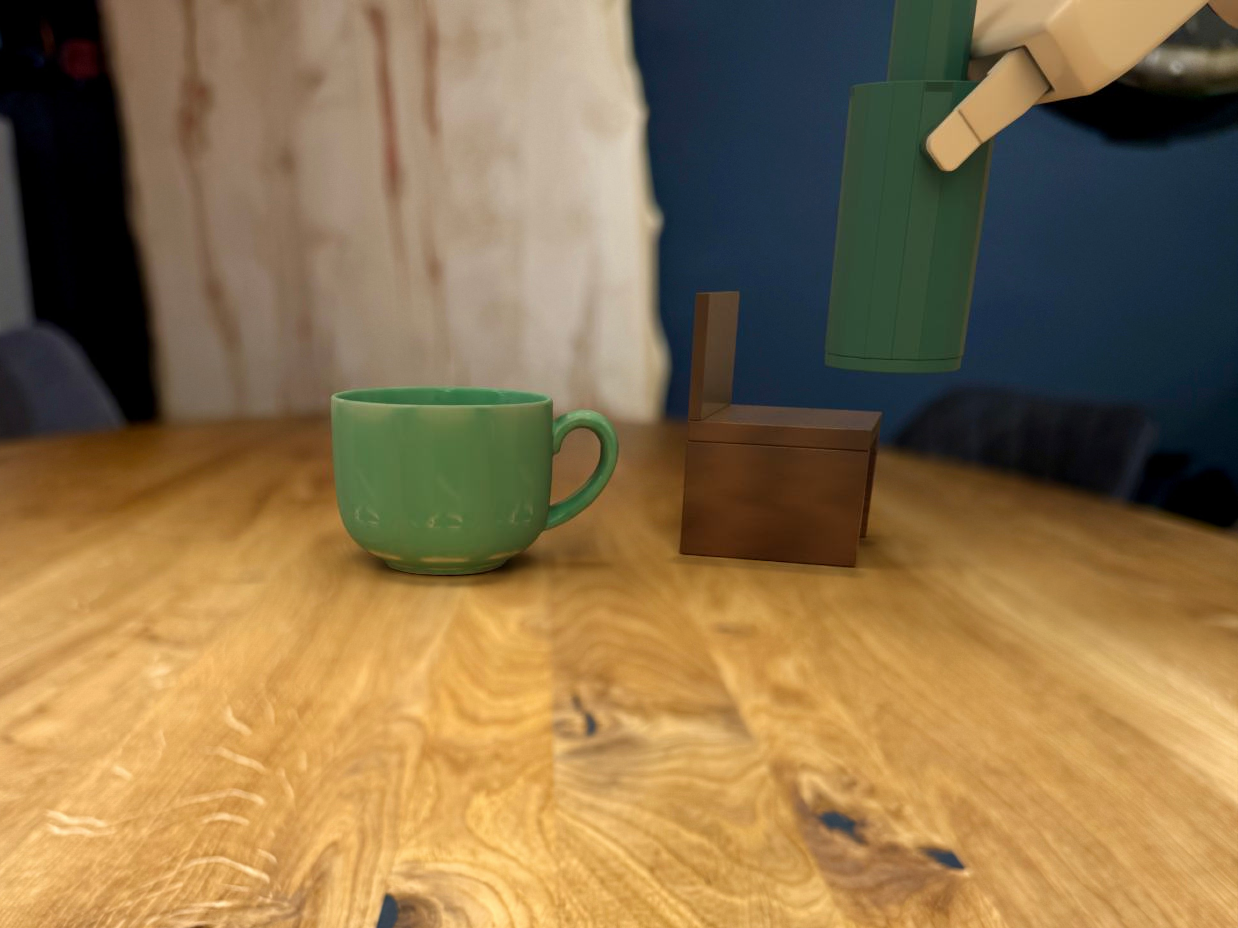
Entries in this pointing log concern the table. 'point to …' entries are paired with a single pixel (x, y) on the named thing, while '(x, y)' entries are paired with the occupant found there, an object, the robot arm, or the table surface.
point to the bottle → (908, 206)
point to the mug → (455, 473)
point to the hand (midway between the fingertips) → (903, 163)
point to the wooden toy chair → (769, 463)
